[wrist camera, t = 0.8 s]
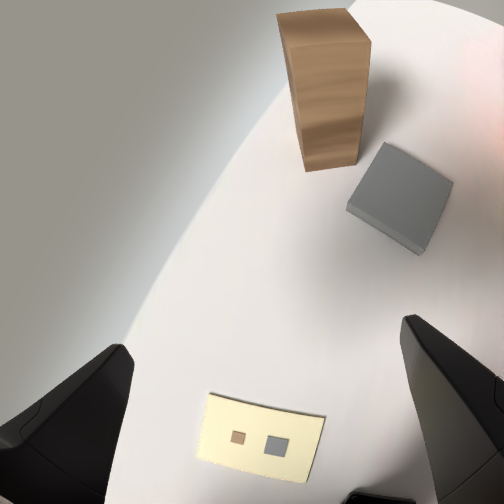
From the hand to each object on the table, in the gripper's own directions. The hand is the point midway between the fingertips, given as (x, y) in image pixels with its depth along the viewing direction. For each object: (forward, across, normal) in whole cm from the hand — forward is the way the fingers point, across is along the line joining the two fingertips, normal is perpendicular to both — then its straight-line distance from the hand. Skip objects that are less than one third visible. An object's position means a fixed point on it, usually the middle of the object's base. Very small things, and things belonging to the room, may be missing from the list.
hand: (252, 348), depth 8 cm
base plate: (+17, -10, +2) cm, 20 cm away
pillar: (+21, -5, -2) cm, 21 cm away
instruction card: (+4, +3, +15) cm, 16 cm away
